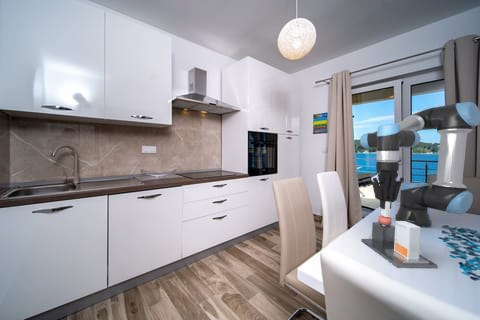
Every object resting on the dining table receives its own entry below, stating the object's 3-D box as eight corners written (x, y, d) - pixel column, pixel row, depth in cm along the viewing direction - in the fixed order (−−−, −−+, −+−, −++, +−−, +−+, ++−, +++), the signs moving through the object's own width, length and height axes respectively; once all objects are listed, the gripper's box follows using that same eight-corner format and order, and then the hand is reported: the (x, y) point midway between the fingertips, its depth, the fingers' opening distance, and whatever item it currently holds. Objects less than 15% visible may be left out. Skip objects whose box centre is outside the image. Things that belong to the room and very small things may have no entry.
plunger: (384, 238, 81) (385, 215, 81) (393, 243, 77) (394, 219, 76) (374, 238, 81) (375, 215, 81) (382, 243, 77) (383, 219, 76)
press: (392, 241, 83) (393, 221, 83) (437, 268, 64) (438, 242, 64) (361, 241, 83) (362, 221, 83) (397, 267, 64) (398, 242, 64)
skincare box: (393, 250, 71) (394, 220, 71) (403, 250, 71) (405, 220, 71) (408, 260, 65) (409, 227, 65) (419, 259, 65) (421, 227, 65)
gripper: (395, 160, 81) (393, 213, 82) (365, 160, 81) (364, 213, 82) (411, 161, 74) (408, 219, 75) (378, 161, 74) (376, 219, 75)
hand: (385, 216), depth 78 cm, fingers closed
